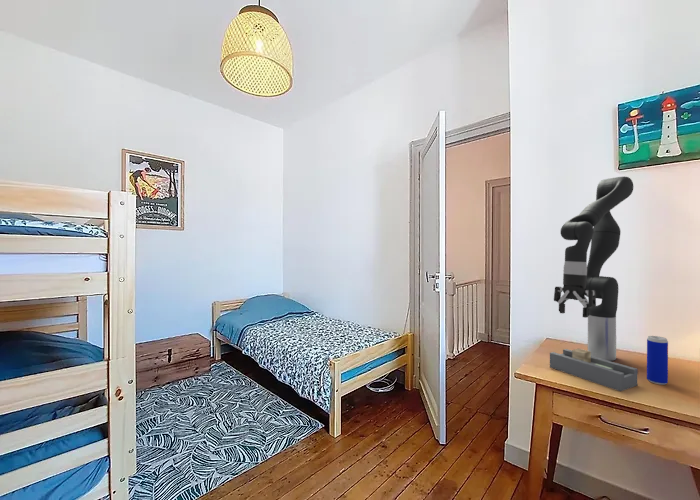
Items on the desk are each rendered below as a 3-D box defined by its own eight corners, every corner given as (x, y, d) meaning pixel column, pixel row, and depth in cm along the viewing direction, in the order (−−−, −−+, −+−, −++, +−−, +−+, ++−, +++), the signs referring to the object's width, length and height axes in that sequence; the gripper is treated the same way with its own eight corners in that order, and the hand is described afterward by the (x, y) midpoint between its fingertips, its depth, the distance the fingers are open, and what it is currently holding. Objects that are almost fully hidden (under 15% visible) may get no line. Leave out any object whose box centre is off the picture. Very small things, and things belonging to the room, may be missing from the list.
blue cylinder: (671, 385, 107) (672, 340, 107) (653, 384, 108) (653, 339, 108) (660, 379, 112) (660, 335, 112) (643, 378, 114) (643, 335, 113)
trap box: (566, 362, 129) (566, 348, 129) (637, 385, 108) (637, 368, 108) (549, 367, 125) (549, 352, 125) (620, 391, 104) (620, 374, 104)
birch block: (579, 359, 122) (579, 348, 122) (590, 362, 118) (590, 351, 118) (572, 360, 120) (572, 349, 120) (584, 364, 116) (584, 353, 116)
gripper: (601, 275, 122) (599, 318, 122) (562, 272, 135) (560, 311, 135) (589, 274, 119) (587, 319, 119) (550, 271, 132) (549, 312, 132)
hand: (573, 315), depth 127 cm, fingers open, 8 cm apart
